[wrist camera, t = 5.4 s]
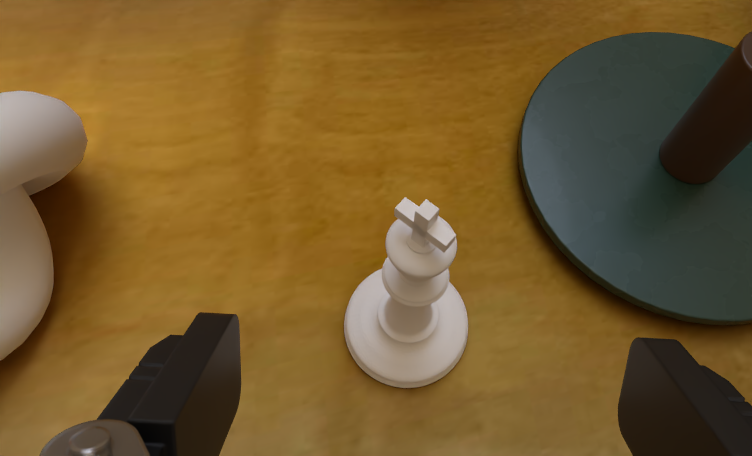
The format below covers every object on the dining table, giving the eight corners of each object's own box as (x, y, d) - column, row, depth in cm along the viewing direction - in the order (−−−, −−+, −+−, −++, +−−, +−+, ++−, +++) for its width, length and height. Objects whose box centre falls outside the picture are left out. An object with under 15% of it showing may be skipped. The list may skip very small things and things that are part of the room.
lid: (885, 142, 28) (1053, 18, 21) (780, 404, 23) (957, 353, 16) (601, 6, 32) (666, -138, 25) (454, 206, 27) (484, 94, 20)
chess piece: (397, 246, 26) (411, 97, 17) (492, 318, 24) (564, 200, 15) (318, 332, 24) (288, 219, 15) (415, 415, 23) (446, 346, 14)
